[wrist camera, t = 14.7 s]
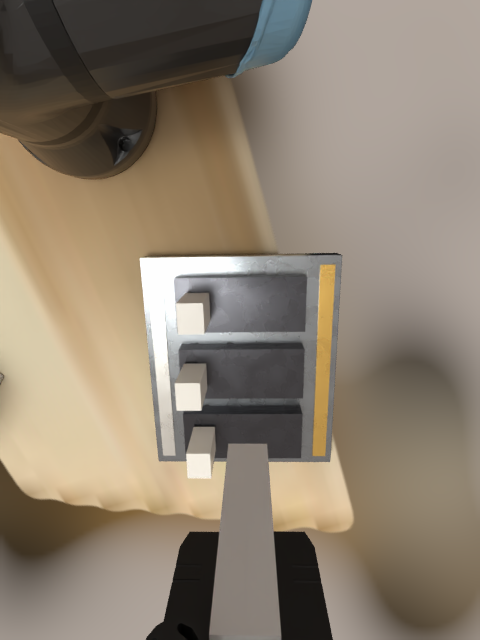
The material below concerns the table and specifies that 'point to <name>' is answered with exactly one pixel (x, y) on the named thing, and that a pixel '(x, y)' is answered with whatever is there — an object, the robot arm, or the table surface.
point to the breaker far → (201, 452)
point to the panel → (246, 336)
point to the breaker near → (193, 313)
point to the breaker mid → (191, 387)
